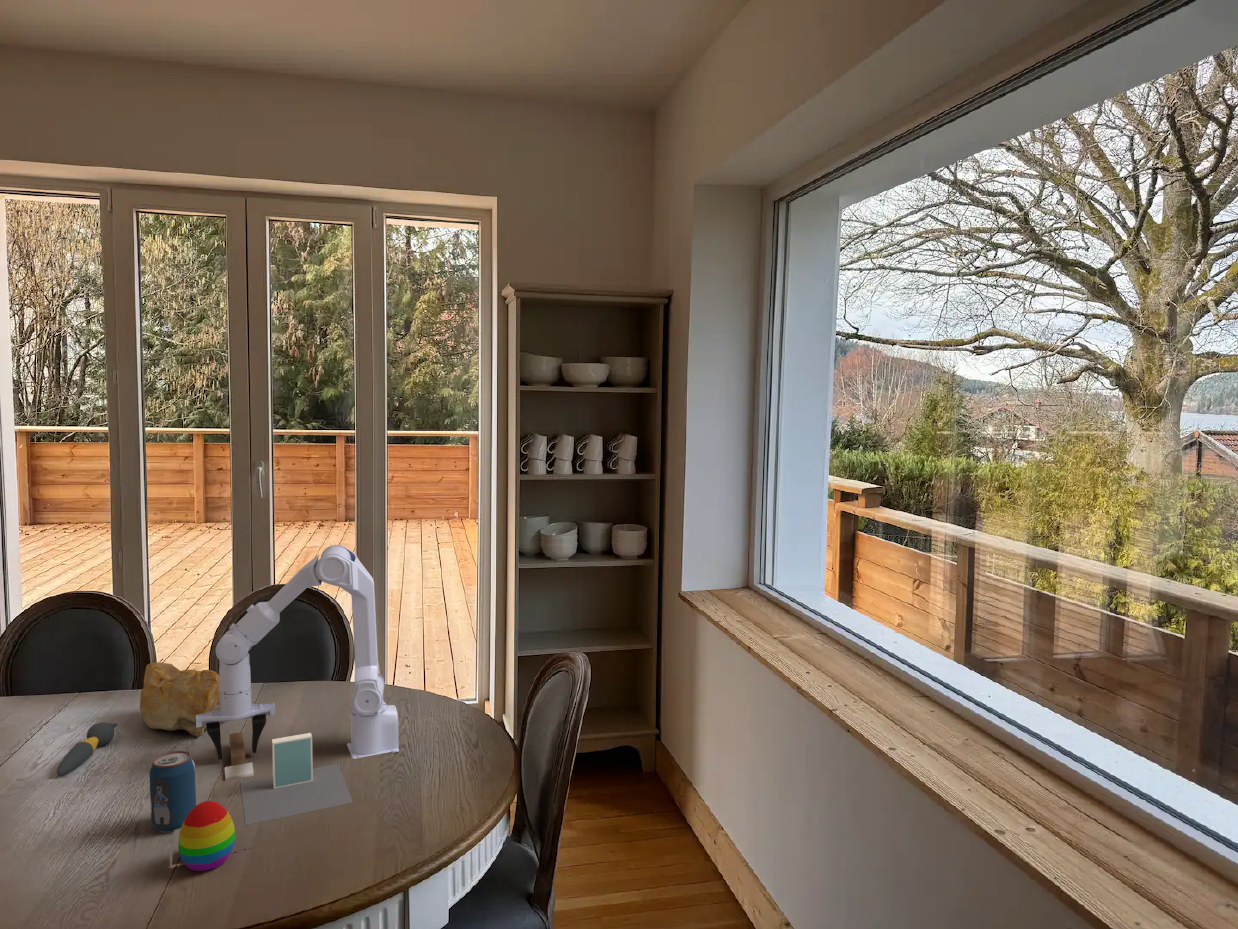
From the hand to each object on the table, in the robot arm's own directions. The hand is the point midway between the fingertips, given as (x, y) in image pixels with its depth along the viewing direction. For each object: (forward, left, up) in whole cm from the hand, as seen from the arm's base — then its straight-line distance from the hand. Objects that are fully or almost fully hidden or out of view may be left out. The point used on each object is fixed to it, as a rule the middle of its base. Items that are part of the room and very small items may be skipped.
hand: (237, 754), depth 166 cm
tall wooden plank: (0, 0, -2) cm, 2 cm away
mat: (-9, +20, -2) cm, 22 cm away
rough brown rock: (+7, -24, -2) cm, 25 cm away
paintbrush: (+27, -16, -2) cm, 31 cm away
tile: (-9, +16, -1) cm, 18 cm away
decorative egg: (+6, +36, -2) cm, 37 cm away
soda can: (+11, +21, -2) cm, 24 cm away
